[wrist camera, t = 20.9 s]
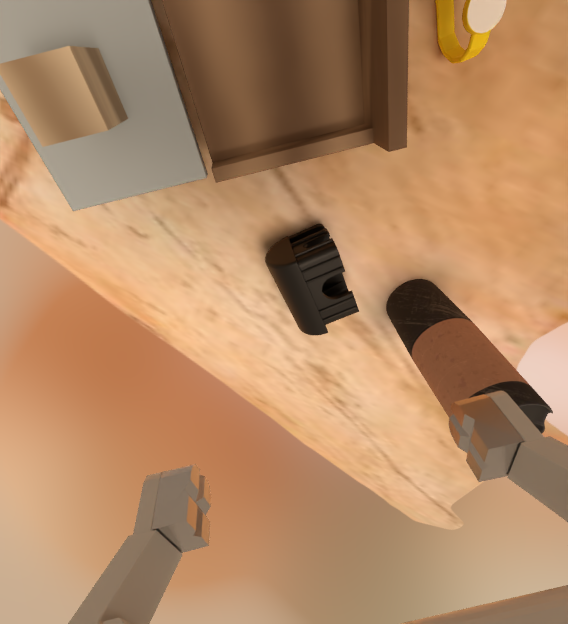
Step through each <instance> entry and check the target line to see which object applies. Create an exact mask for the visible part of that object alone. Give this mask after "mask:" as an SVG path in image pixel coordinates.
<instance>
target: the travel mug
mask: <svg viewBox="0 0 568 624" xmlns="http://www.w3.org/2000/svg"><path fill="white" fill-rule="evenodd" d="M387 314H388V316H389V318H390V320H391V322H392V323H393V325H394V327H395V329H396V331H397V332H398V334H399V336H400V338H401V339H402V341H403V343H404V345H405V347H406V348H407V350H408V352H409V354H410V356H411V357H412V359H413V361H414V362H415V364H416V366H417V367H418V369H419V370H420V372H421V374H422V375H423V377H424V378H425V380H426V381H427V383H428V385H429V386H430V388H431V389H432V391H433V393H434V394H435V396H436V397H437V399H438V401H439V402H440V404H441V405H442V407H443V408H444V410H445V412H446V413H447V415H448V416H449V418H450V417H451V416H452V415H453V412H452V411H451V404H452V403H453V402H456V401H460V400H464V399H468V398H472V397H475V396H479V395H483V394H488V393H492V392H496V391H504V392H506V393H507V394H508V395H509V396H510V397H511V398H512V400H513V401H514V402H515V403H516V404H517V405H518V407H519V408H520V409H521V410H522V411H523V413H524V414H525V415H526V416H527V417H528V418H529V420H530V421H531V422H532V423H533V424H534V425H535V427H536V428H537V429H538V430H539V431H540V433H541V434H542V433H543V432H544V430H545V426H544V421H545V418H546V416H547V414H548V413H553V411H552V410H551V408H550V407H549V406H548V405H547V404H546V403H545V401H544V400H543V399H542V398H541V397H540V396H539V395H538V394H537V393H536V392H535V390H534V389H533V388H532V387H531V386H530V385H529V384H528V383H527V381H526V380H525V379H524V378H523V377H522V376H521V375H520V374H519V373H518V372H517V370H516V369H515V368H514V367H513V366H512V365H511V364H510V363H509V362H508V360H507V359H506V358H505V357H504V356H503V355H502V354H501V353H500V352H499V351H498V349H497V348H496V347H495V346H494V345H493V344H492V343H491V342H490V341H489V340H488V338H487V337H486V336H485V335H484V334H483V333H482V332H481V331H480V330H479V328H478V327H477V326H476V325H475V324H474V323H473V322H472V321H471V320H470V319H469V318H468V317H467V316H466V315H465V314H464V313H463V312H462V311H461V310H460V309H459V308H458V307H457V306H456V305H455V304H454V303H453V302H452V301H451V300H450V299H449V298H448V297H447V296H446V295H445V294H444V293H443V292H442V291H441V290H440V289H439V288H438V287H437V286H436V285H434V284H433V283H432V282H430V281H427V280H422V279H418V280H412V281H409V282H406V283H404V284H403V285H401V286H399V287H398V288H397V289H396V290H395V291H394V292H393V293H392V294H391V296H390V297H389V299H388V302H387Z"/></svg>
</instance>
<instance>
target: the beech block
mask: <svg viewBox="0 0 568 624" xmlns="http://www.w3.org/2000/svg"><path fill="white" fill-rule="evenodd" d="M0 75H1V76H2V78H3V80H4V82H5V83H6V85H7V87H8V88H9V90H10V92H11V94H12V95H13V97H14V99H15V100H16V102H17V104H18V106H19V107H20V109H21V111H22V112H23V114H24V116H25V118H26V119H27V121H28V123H29V124H30V126H31V128H32V130H33V131H34V133H35V135H36V136H37V138H38V140H39V142H40V143H41V145H42V147H45V146H49V145H53V144H57V143H61V142H65V141H69V140H72V139H76V138H80V137H84V136H88V135H92V134H96V133H100V132H104V131H108V130H110V129H111V128H113V127H115V126H117V125H118V124H120V123H122V122H123V121H125V120H127V119H128V117H127V114H126V112H125V110H124V107H123V105H122V103H121V100H120V98H119V95H118V93H117V91H116V88H115V86H114V84H113V81H112V79H111V77H110V74H109V72H108V69H107V67H106V65H105V62H104V60H103V58H102V55H101V53H100V51H99V48H89V47H77V46H66V47H62V48H59V49H55V50H51V51H47V52H43V53H39V54H35V55H32V56H28V57H24V58H20V59H16V60H12V61H8V62H5V63H1V64H0Z"/></svg>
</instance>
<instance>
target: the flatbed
mask: <svg viewBox="0 0 568 624" xmlns="http://www.w3.org/2000/svg"><path fill="white" fill-rule="evenodd" d="M162 2H163V5H164V8H165V12H166V15H167V18H168V21H169V24H170V28H171V31H172V34H173V37H174V40H175V44H176V47H177V50H178V53H179V56H180V60H181V63H182V66H183V69H184V72H185V76H186V79H187V82H188V85H189V88H190V92H191V95H192V98H193V101H194V104H195V108H196V111H197V114H198V117H199V120H200V123H201V127H202V130H203V133H204V136H205V139H206V143H207V146H208V149H209V152H210V155H211V159H212V162H213V163H212V172H213V175H214V178H215V181H216V182H220V181H224V180H228V179H232V178H236V177H240V176H244V175H248V174H252V173H256V172H260V171H264V170H268V169H272V168H276V167H280V166H284V165H288V164H292V163H296V162H300V161H304V160H308V159H312V158H316V157H320V156H324V155H328V154H332V153H336V152H340V151H344V150H348V149H352V148H356V147H360V146H364V145H368V144H372V143H375V144H376V145H378V146H380V147H382V148H383V149H385V150H387V151H389V152H390V151H394V150H398V149H402V148H406V147H407V87H408V20H409V0H162Z"/></svg>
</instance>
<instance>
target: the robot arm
mask: <svg viewBox="0 0 568 624" xmlns="http://www.w3.org/2000/svg"><path fill="white" fill-rule="evenodd" d="M451 411H452V412H453V415H452V416H451V417H450V418H449V428H450V432H451V435H452V437H453V439H454V441H455V443H456V444H457V446H458V448H460V449H462V450H463V451H465V452H467V459H466V461H467V463H468V465H469V466H470V468H471V470H472V471H473V473H474V475H475V476H476V478H477V480H478V481H479V482H481V481H486V480H491V479H495V478H500V477H505V476H508V478H509V479H510V480H511V481H513V482H514V483H515V484H517V485H518V486H519V487H521V488H522V489H524V490H525V491H526V492H528V493H529V494H530V495H532V496H533V497H535V498H536V499H537V500H539V501H540V502H541V503H543V504H544V505H545V506H547V507H548V508H550V509H551V510H552V511H554V512H555V513H556V514H558V515H559V516H560V517H562V518H563V519H564V520H566V521H567V522H568V446H567V445H566V444H564V443H562V442H560V441H558V440H556V439H554V438H552V437H550V436H548V437H544V436H543V435H542V434H541V433H540V431H539V430H538V429H537V428H536V427H535V425H534V424H533V423H532V422H531V421H530V420H529V418H528V417H527V416H526V415H525V414H524V413H523V411H522V410H521V409H520V408H519V407H518V405H517V404H516V403H515V402H514V401H513V400H512V398H511V397H510V396H509V395H508V394H507V393H506V392H504V391H496V392H492V393H488V394H483V395H479V396H475V397H472V398H468V399H464V400H460V401H456V402H453V403H452V404H451ZM210 506H211V494H210V486H209V483H208V481H207V479H206V477H205V476H202V475H200V469H199V468H198V467H197V465H196V464H195V465H190V466H186V467H182V468H178V469H174V470H170V471H165V472H160V473H156V474H152V475H148V476H147V477H146V479H145V481H144V483H143V489H142V493H141V498H140V503H139V508H138V513H137V518H136V523H135V528H134V533H133V535H131V536H128V537H127V539H126V540H125V542H124V543H123V545H122V546H121V548H120V549H119V551H118V552H117V553H116V555H115V556H114V558H113V559H112V561H111V562H110V564H109V565H108V566H107V568H106V569H105V571H104V572H103V574H102V575H101V577H100V578H99V580H98V581H97V583H96V584H95V585H94V587H93V588H92V590H91V591H90V593H89V594H88V596H87V597H86V599H85V600H84V601H83V603H82V604H81V606H80V607H79V609H78V610H77V612H76V613H75V615H74V616H73V617H72V619H71V620H70V622H69V623H68V624H149V623H150V621H151V619H152V617H153V615H154V613H155V611H156V608H157V606H158V604H159V602H160V600H161V598H162V596H163V594H164V592H165V590H166V588H167V586H168V584H169V582H170V580H171V577H172V575H173V573H174V571H175V569H176V567H177V565H178V563H179V561H180V559H181V557H182V553H183V552H187V551H190V550H194V549H198V548H201V547H205V546H209V535H210V521H209V519H208V518H207V516H206V513H207V511H208V510H209V508H210ZM401 624H568V585H566V586H562V587H557V588H553V589H549V590H545V591H540V592H536V593H532V594H527V595H523V596H519V597H514V598H510V599H505V600H501V601H496V602H492V603H488V604H483V605H479V606H475V607H471V608H466V609H462V610H457V611H453V612H449V613H444V614H440V615H435V616H431V617H427V618H423V619H418V620H414V621H410V622H405V623H401Z"/></svg>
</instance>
